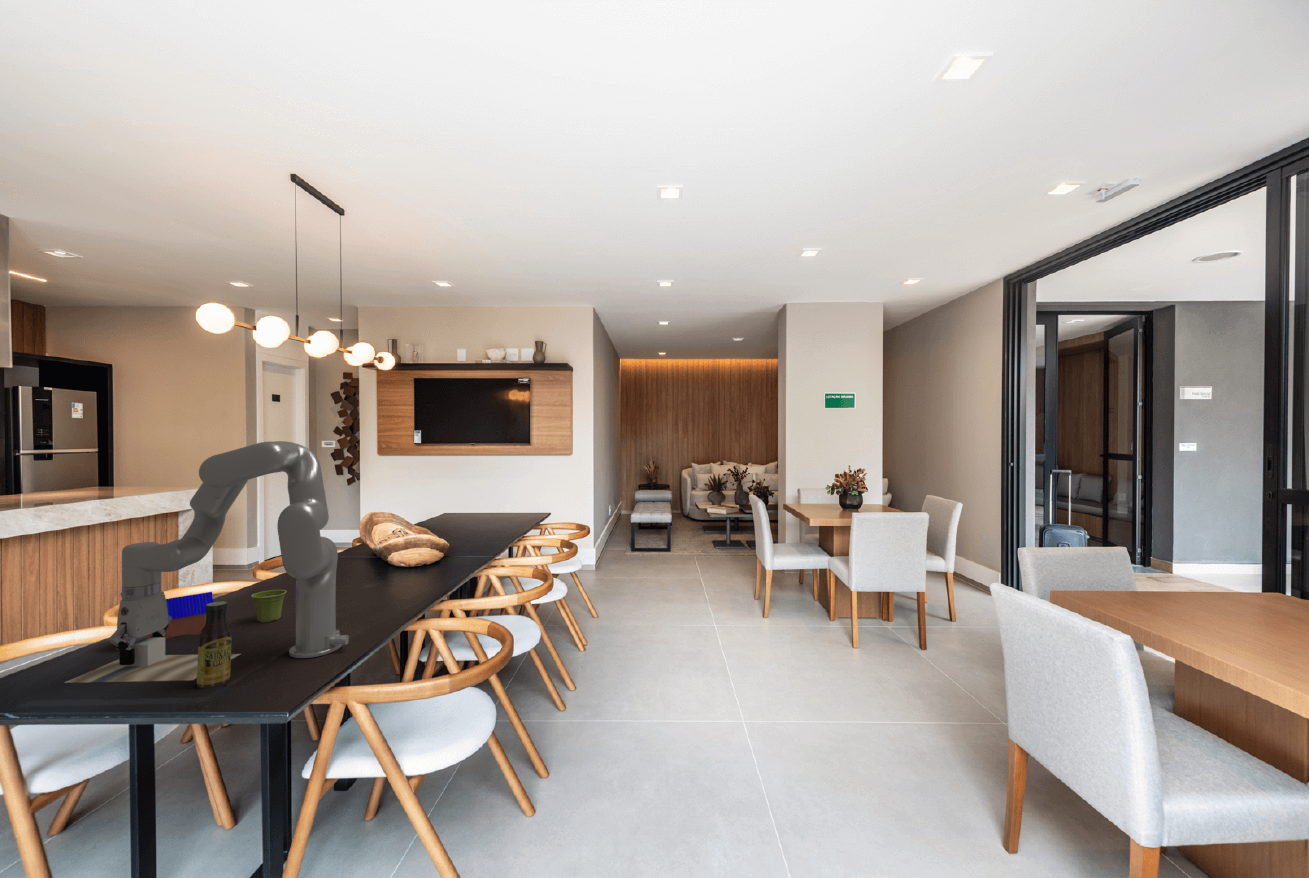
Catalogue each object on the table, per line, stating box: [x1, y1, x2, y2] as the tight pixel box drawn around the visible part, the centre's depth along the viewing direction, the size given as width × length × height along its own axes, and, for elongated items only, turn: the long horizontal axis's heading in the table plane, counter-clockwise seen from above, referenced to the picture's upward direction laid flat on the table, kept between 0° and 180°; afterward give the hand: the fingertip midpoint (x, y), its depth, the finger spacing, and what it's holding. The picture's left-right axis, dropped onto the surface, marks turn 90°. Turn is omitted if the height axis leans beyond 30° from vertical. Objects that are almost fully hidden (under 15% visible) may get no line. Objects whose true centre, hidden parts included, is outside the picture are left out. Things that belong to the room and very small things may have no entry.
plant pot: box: [251, 589, 288, 623], centre depth 177 cm, size 9×9×9 cm
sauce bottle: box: [196, 601, 232, 689], centre depth 129 cm, size 6×6×20 cm
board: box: [63, 653, 241, 684], centre depth 137 cm, size 30×16×1 cm, turn 92°
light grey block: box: [120, 637, 166, 666], centre depth 140 cm, size 7×5×6 cm
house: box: [126, 591, 214, 642], centre depth 162 cm, size 12×20×12 cm, turn 136°
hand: (142, 657), depth 140 cm, fingers open, 7 cm apart
